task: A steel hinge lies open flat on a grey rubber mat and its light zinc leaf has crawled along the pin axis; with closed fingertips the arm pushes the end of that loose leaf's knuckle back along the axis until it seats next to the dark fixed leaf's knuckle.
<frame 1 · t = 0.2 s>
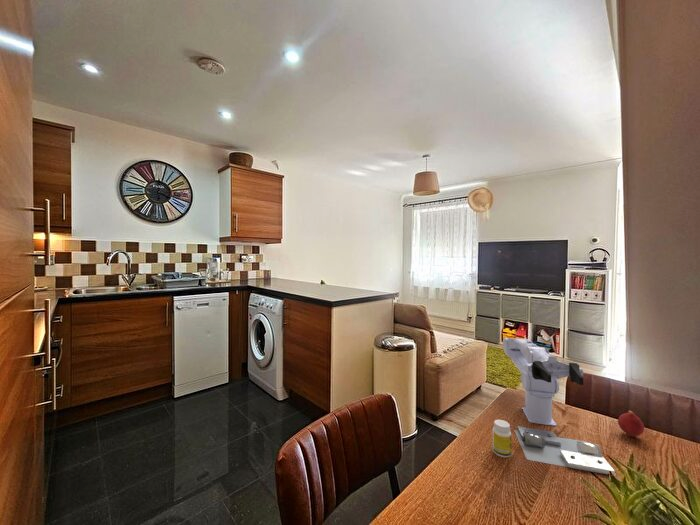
hand: (565, 380, 81), 21 cm above the table, tool horizontal, fingers open, 7 cm apart
loose leaf: (582, 454, 80), point 2 cm above the table, slide at 8.5 cm
mat: (559, 451, 84), on the table
fixed leaf: (559, 450, 84), resting on mat
supplement bottle: (501, 453, 83), on the table
onion: (630, 437, 91), on the table
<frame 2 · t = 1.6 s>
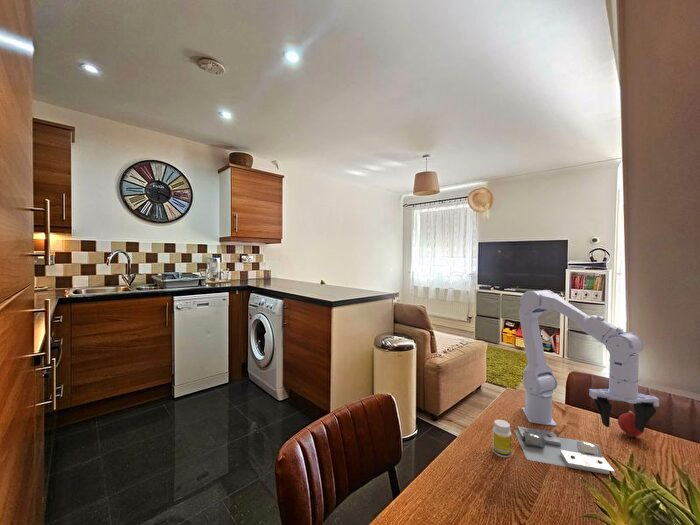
hand: (622, 427, 79), 9 cm above the table, tool pointing down, fingers open, 7 cm apart
nothing on the table moved.
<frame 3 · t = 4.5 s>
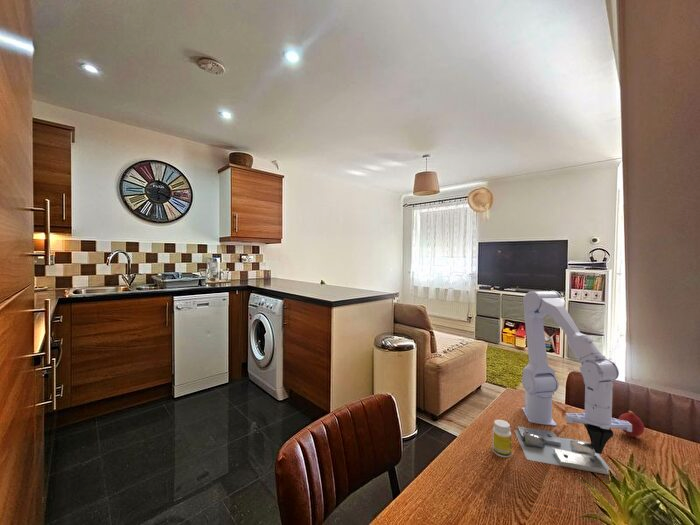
hand: (596, 451, 81), 2 cm above the table, tool pointing down, fingers closed
loose leaf: (576, 453, 80), point 2 cm above the table, slide at 6.9 cm, touching gripper
everything else where it was.
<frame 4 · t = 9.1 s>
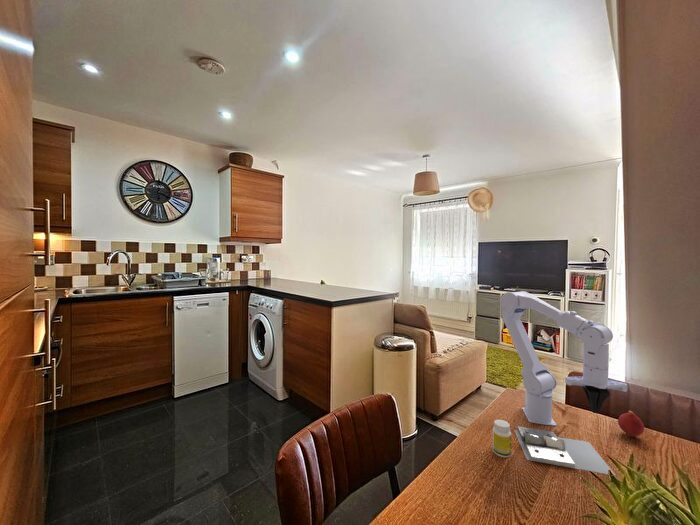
hand: (594, 411, 87), 10 cm above the table, tool pointing down, fingers closed
loose leaf: (546, 448, 82), point 2 cm above the table, slide at 0.0 cm
everything else where it was.
at the end: loose leaf slide at 0.0 cm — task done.
